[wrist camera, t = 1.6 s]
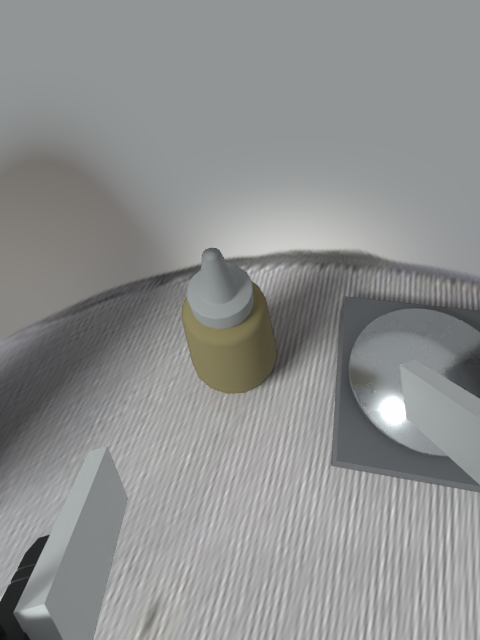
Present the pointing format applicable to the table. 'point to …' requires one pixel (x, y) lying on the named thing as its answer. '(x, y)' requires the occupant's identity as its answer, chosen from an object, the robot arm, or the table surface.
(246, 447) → the table surface
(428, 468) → the scale base
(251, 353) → the squeeze bottle
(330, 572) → the table surface
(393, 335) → the scale pan
